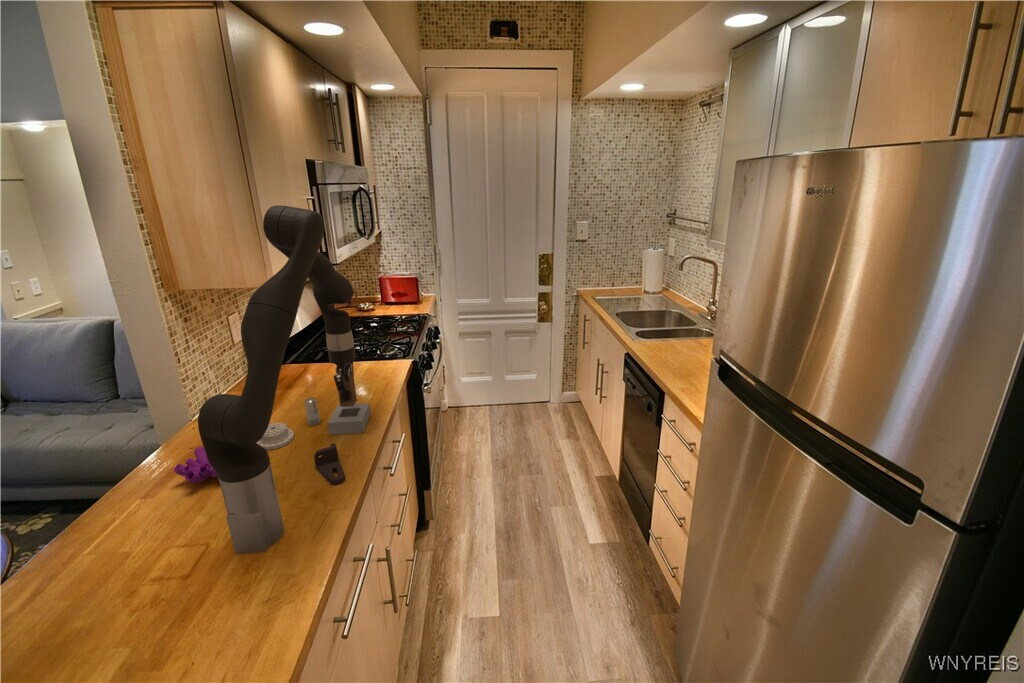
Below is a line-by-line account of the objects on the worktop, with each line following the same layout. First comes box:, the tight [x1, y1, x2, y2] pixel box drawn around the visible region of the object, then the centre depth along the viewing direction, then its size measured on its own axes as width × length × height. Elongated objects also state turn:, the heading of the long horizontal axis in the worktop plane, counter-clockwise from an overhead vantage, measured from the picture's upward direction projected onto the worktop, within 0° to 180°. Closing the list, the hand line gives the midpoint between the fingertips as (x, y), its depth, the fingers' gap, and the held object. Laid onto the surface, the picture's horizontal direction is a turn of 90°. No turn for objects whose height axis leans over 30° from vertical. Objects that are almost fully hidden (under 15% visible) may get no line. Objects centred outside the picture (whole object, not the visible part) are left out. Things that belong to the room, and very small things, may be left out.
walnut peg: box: [337, 371, 358, 407], centre depth 138 cm, size 4×4×10 cm
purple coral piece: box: [173, 446, 218, 484], centre depth 115 cm, size 11×15×10 cm
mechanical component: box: [257, 421, 295, 451], centre depth 132 cm, size 10×4×10 cm
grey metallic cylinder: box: [303, 397, 321, 426], centre depth 141 cm, size 4×4×8 cm
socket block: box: [327, 402, 372, 435], centre depth 141 cm, size 12×10×4 cm
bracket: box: [313, 442, 346, 486], centre depth 117 cm, size 6×12×5 cm, turn 30°
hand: (347, 397), depth 139 cm, fingers closed on walnut peg, 4 cm apart
